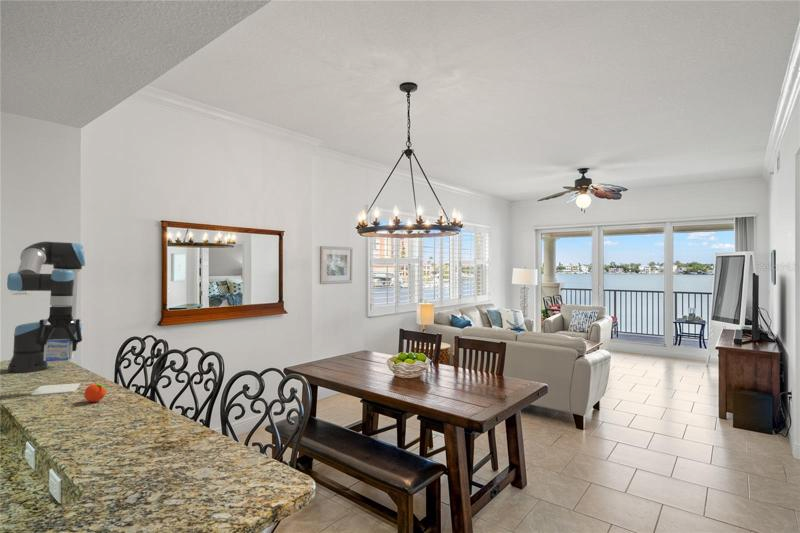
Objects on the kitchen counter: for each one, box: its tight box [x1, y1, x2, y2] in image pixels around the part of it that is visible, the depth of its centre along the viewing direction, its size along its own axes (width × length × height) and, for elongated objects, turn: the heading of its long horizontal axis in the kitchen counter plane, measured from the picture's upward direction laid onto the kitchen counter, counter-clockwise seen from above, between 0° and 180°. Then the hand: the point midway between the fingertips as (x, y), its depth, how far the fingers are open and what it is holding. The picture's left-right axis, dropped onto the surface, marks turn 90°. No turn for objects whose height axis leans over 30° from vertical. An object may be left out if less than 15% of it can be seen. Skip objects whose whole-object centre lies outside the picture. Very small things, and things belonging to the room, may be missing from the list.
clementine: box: [83, 383, 107, 403], centre depth 167 cm, size 8×7×7 cm
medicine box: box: [45, 339, 72, 362], centre depth 181 cm, size 8×4×9 cm, turn 115°
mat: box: [30, 382, 81, 397], centre depth 181 cm, size 14×14×1 cm
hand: (58, 359), depth 181 cm, fingers closed on medicine box, 8 cm apart
